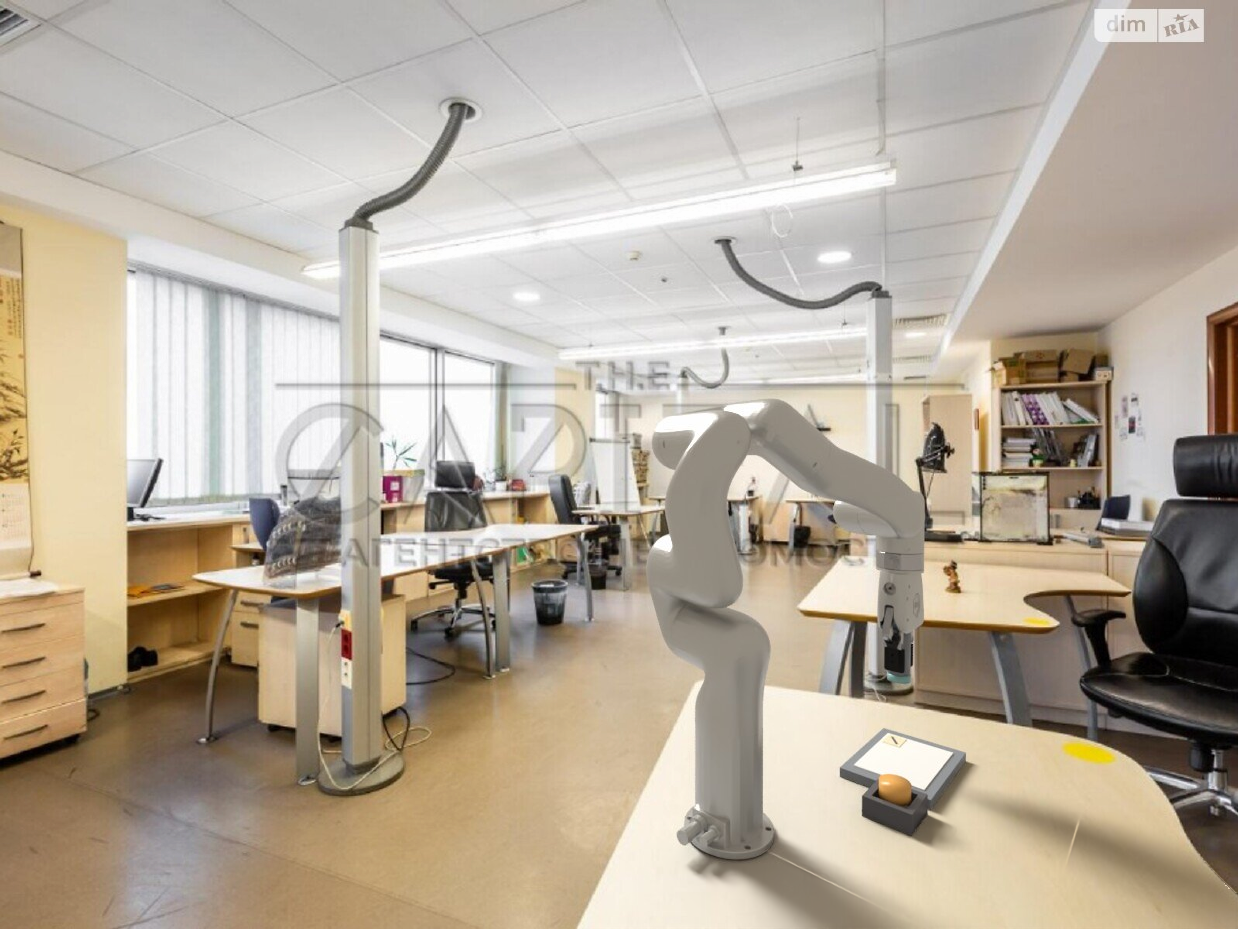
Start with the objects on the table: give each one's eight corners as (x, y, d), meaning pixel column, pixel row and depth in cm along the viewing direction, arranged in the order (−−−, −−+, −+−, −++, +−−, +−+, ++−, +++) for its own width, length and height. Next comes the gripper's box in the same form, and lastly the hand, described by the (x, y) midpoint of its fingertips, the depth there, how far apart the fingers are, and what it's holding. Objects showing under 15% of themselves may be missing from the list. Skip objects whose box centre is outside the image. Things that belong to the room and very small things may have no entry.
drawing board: (930, 810, 91) (930, 798, 91) (839, 776, 100) (839, 765, 100) (965, 761, 105) (965, 750, 105) (883, 735, 115) (883, 726, 115)
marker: (906, 685, 101) (907, 620, 101) (883, 680, 104) (883, 616, 104) (914, 679, 104) (914, 616, 104) (891, 674, 107) (891, 612, 107)
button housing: (911, 836, 85) (912, 815, 85) (861, 815, 89) (862, 795, 89) (927, 814, 90) (927, 794, 90) (879, 796, 95) (879, 777, 95)
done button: (905, 810, 86) (905, 793, 86) (874, 798, 90) (874, 782, 89) (915, 797, 90) (915, 781, 90) (884, 786, 93) (885, 770, 93)
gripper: (906, 571, 95) (905, 687, 95) (937, 558, 107) (936, 661, 108) (859, 565, 100) (858, 675, 100) (893, 554, 112) (892, 652, 113)
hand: (898, 667), depth 104 cm, fingers closed on marker, 3 cm apart
